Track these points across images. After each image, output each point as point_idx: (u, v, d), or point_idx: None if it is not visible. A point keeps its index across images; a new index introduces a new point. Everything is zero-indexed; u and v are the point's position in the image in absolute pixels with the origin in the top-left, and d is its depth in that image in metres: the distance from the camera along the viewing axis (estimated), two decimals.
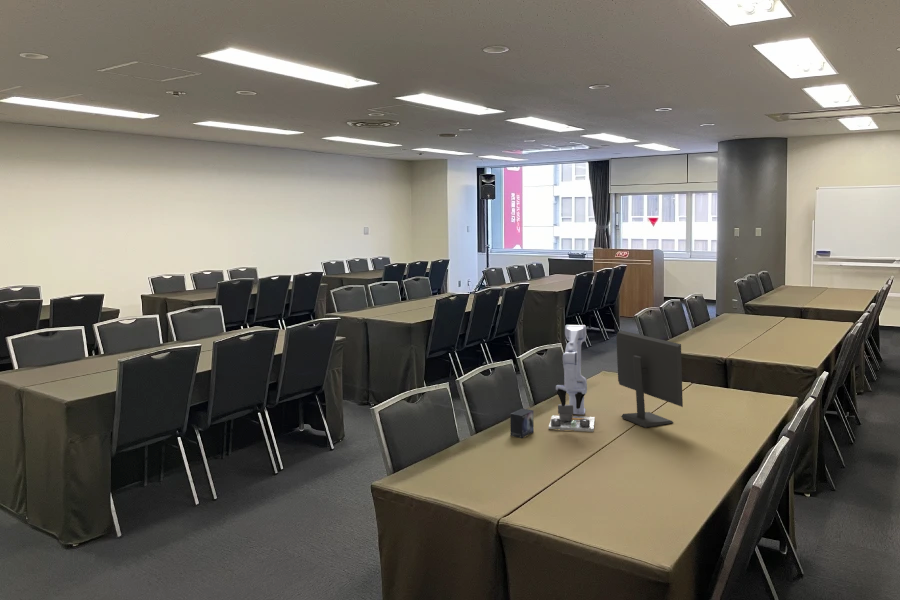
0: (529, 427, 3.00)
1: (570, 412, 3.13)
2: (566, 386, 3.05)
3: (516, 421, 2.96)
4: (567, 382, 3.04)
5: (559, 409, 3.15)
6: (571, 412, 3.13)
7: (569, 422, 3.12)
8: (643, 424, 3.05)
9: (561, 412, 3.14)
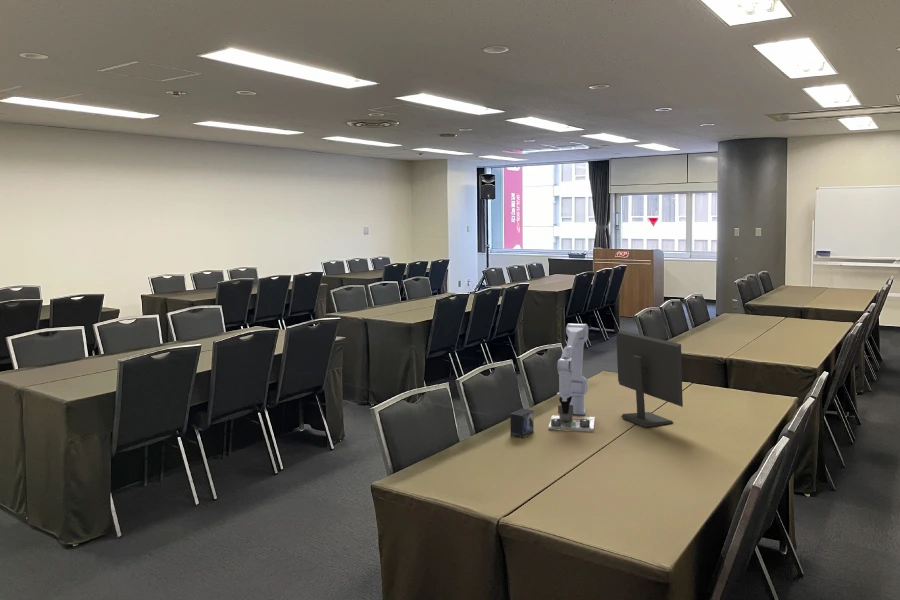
0: (529, 427, 3.00)
1: (570, 412, 3.13)
2: None
3: (516, 421, 2.96)
4: (559, 387, 3.14)
5: (559, 409, 3.15)
6: (571, 412, 3.13)
7: (569, 422, 3.12)
8: (643, 424, 3.05)
9: (561, 412, 3.14)
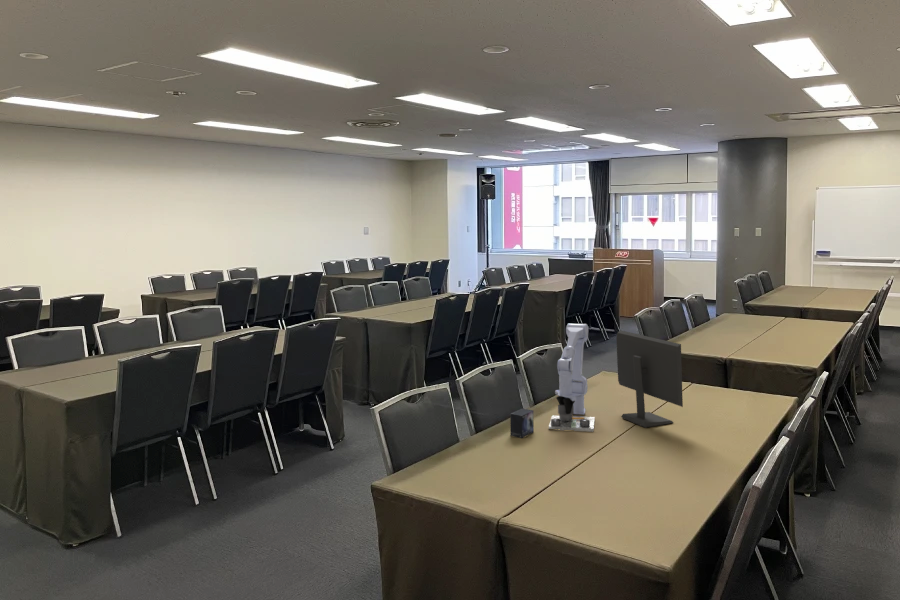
0: (529, 427, 3.00)
1: None
2: (559, 391, 3.13)
3: (516, 421, 2.96)
4: (560, 388, 3.12)
5: (559, 409, 3.14)
6: (571, 412, 3.14)
7: (569, 422, 3.12)
8: (643, 424, 3.05)
9: (561, 412, 3.14)
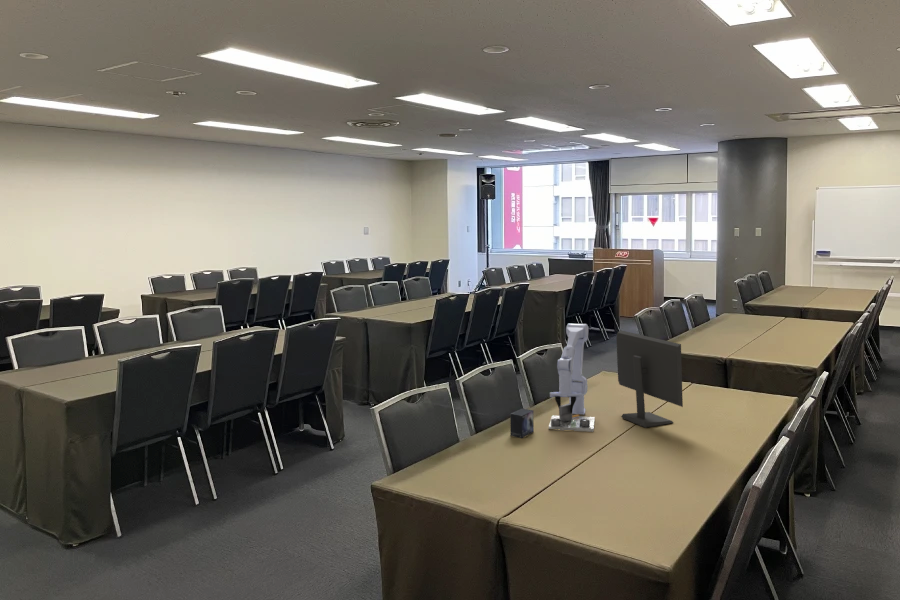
0: (529, 427, 3.00)
1: (570, 411, 3.15)
2: (564, 392, 3.11)
3: (516, 421, 2.96)
4: (565, 388, 3.11)
5: (562, 410, 3.12)
6: None
7: (569, 422, 3.12)
8: (643, 424, 3.05)
9: (564, 413, 3.13)
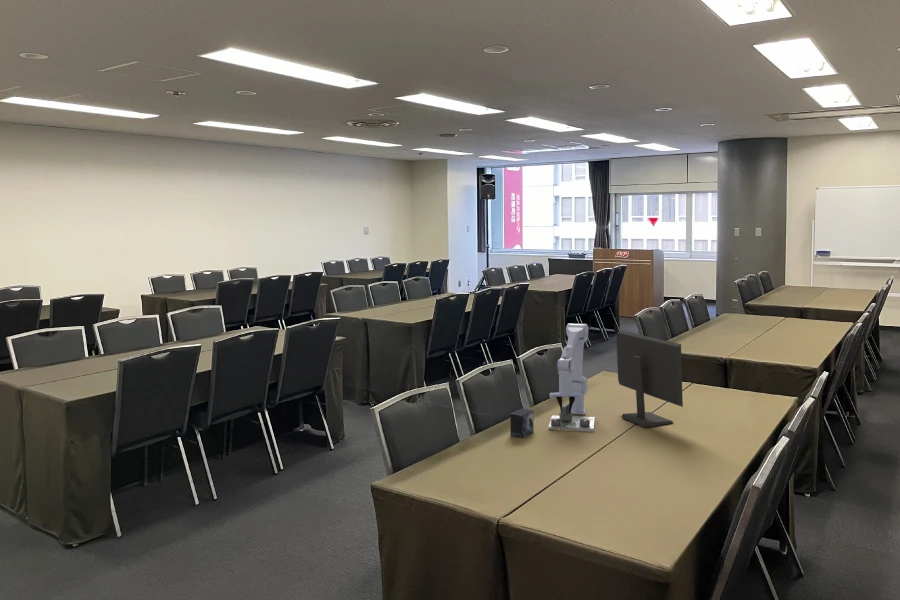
0: (529, 427, 3.00)
1: (568, 410, 3.16)
2: (564, 392, 3.11)
3: (516, 421, 2.96)
4: (565, 388, 3.11)
5: (566, 410, 3.12)
6: None
7: (569, 422, 3.12)
8: (643, 424, 3.05)
9: (566, 413, 3.13)
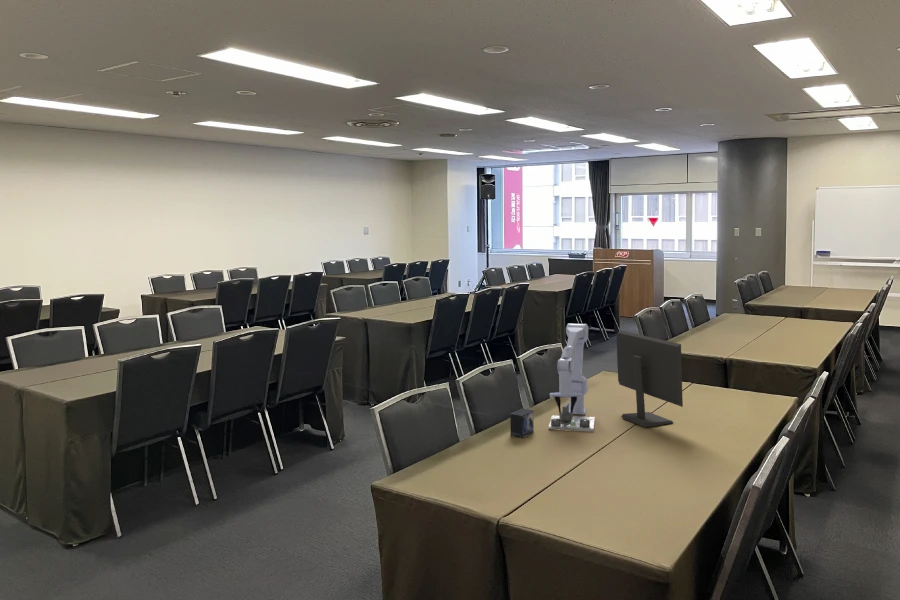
0: (529, 427, 3.00)
1: (568, 410, 3.17)
2: (564, 392, 3.11)
3: (516, 421, 2.96)
4: (566, 388, 3.11)
5: (566, 410, 3.12)
6: (568, 410, 3.17)
7: (569, 422, 3.12)
8: (643, 424, 3.05)
9: (566, 413, 3.13)
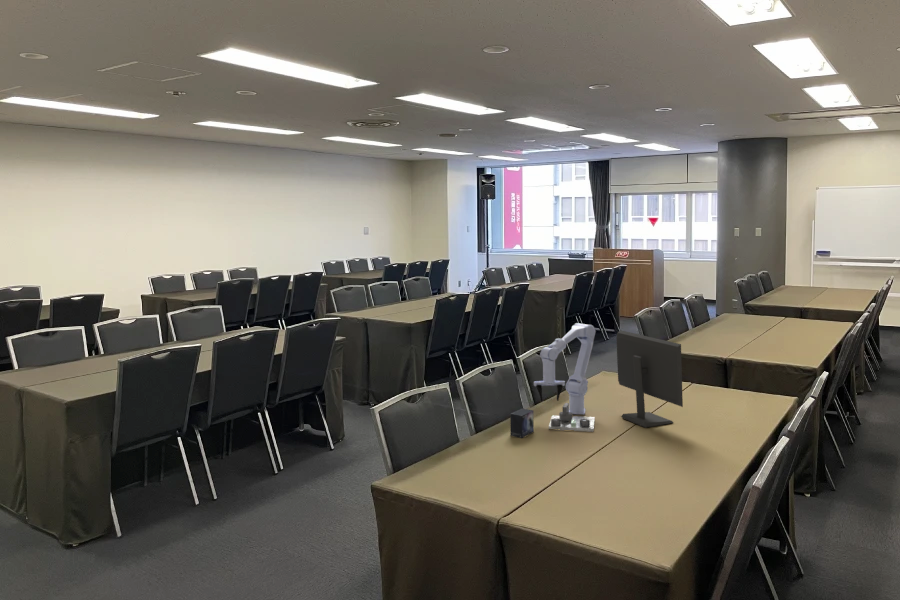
0: (529, 427, 3.00)
1: (568, 410, 3.17)
2: (548, 381, 3.17)
3: (516, 421, 2.96)
4: (549, 377, 3.17)
5: (566, 410, 3.12)
6: (568, 410, 3.17)
7: (569, 422, 3.12)
8: (643, 424, 3.05)
9: (567, 413, 3.13)
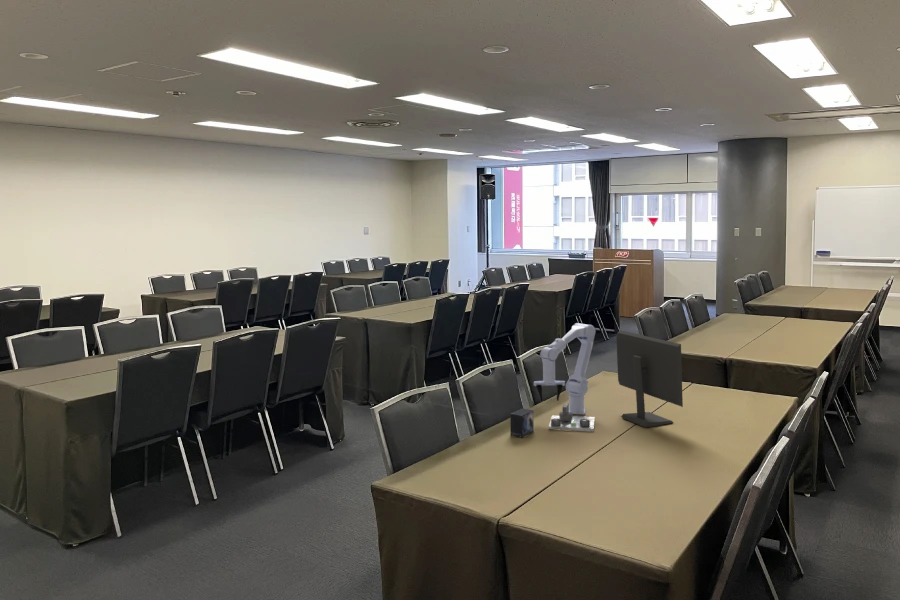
0: (529, 427, 3.00)
1: (568, 410, 3.17)
2: (548, 381, 3.17)
3: (516, 421, 2.96)
4: (549, 377, 3.17)
5: (566, 410, 3.12)
6: (568, 410, 3.17)
7: (569, 422, 3.12)
8: (643, 424, 3.05)
9: (567, 413, 3.13)
